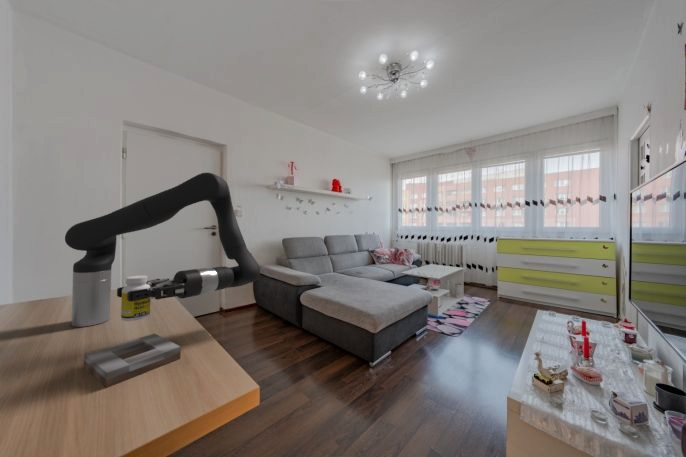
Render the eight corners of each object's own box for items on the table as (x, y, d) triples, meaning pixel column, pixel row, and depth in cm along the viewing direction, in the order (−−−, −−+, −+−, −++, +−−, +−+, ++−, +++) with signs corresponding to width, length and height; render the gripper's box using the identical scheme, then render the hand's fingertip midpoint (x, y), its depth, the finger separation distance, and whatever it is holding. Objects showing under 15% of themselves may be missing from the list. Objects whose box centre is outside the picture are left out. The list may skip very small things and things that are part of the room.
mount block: (84, 366, 59) (84, 353, 59) (154, 344, 71) (154, 333, 71) (106, 387, 52) (106, 372, 52) (180, 358, 64) (180, 346, 64)
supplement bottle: (134, 322, 58) (134, 279, 58) (114, 320, 59) (115, 278, 59) (155, 314, 64) (156, 275, 63) (138, 313, 65) (138, 274, 65)
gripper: (183, 266, 77) (110, 275, 63) (211, 271, 70) (136, 282, 55) (183, 291, 77) (110, 305, 63) (211, 299, 70) (135, 317, 55)
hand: (123, 294), depth 59 cm, fingers closed on supplement bottle, 5 cm apart
